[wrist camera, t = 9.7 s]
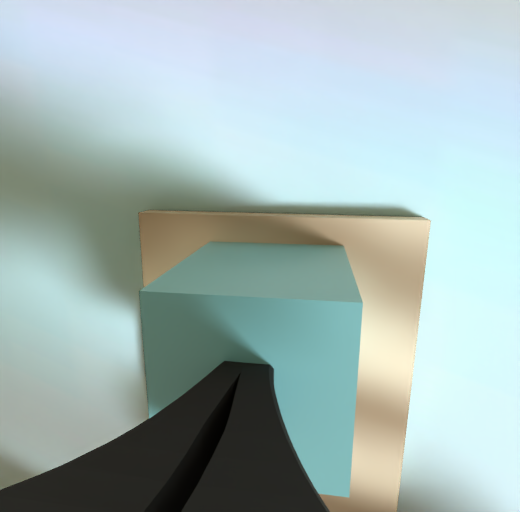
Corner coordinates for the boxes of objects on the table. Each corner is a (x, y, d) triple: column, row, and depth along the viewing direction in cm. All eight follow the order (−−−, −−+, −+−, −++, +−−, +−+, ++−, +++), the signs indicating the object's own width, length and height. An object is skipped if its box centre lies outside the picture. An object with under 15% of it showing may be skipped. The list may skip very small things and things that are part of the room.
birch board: (388, 526, 19) (424, 702, 13) (166, 495, 21) (101, 637, 15) (423, 216, 15) (496, 252, 9) (148, 209, 17) (51, 235, 11)
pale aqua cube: (336, 369, 16) (349, 497, 10) (213, 360, 17) (153, 472, 11) (343, 245, 15) (362, 302, 9) (210, 241, 16) (139, 290, 10)
